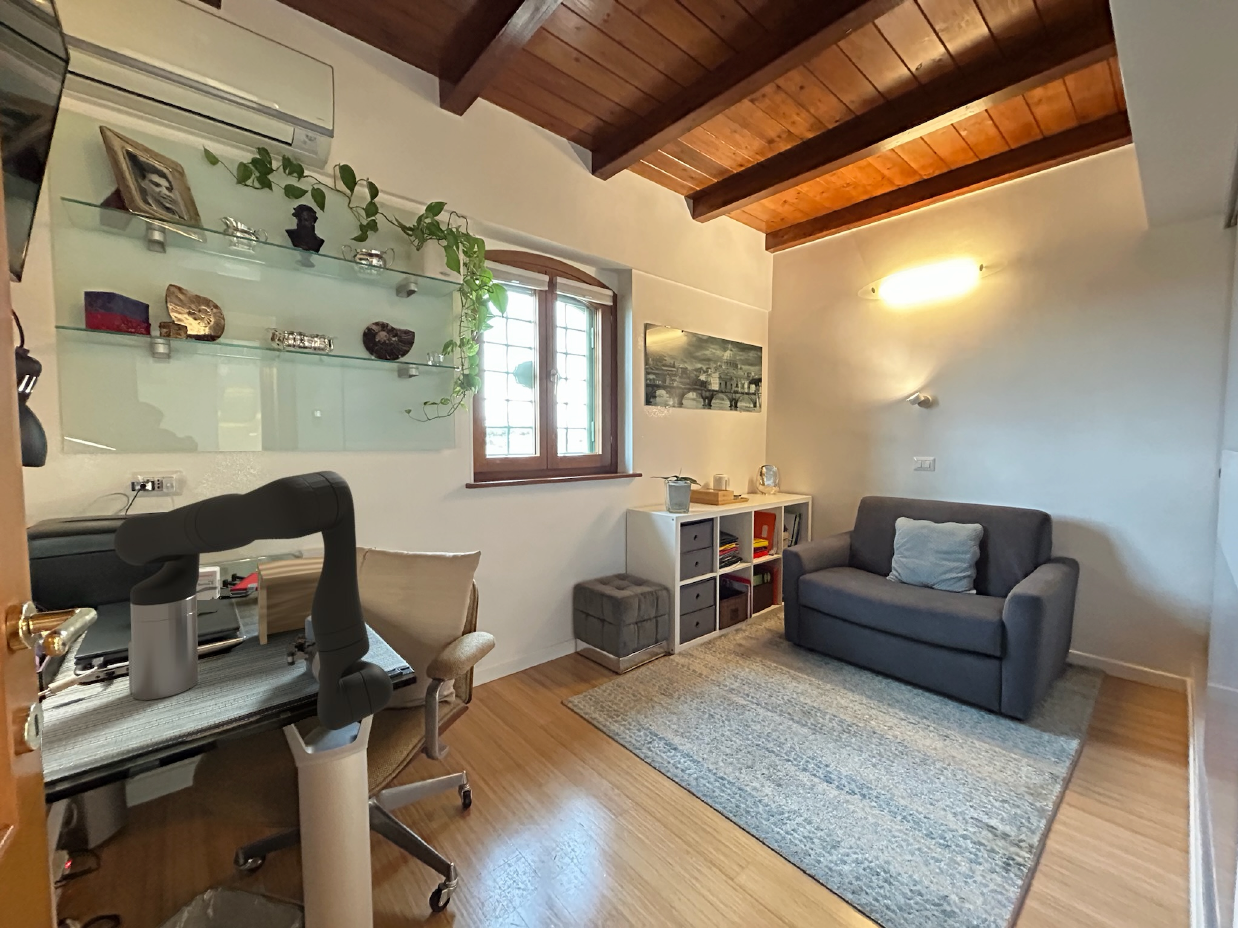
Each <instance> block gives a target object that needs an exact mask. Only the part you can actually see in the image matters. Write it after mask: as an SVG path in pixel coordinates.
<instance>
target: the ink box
mask: <svg viewBox="0 0 1238 928" xmlns="http://www.w3.org/2000/svg"><path fill="white" fill-rule="evenodd" d="M220 569H221V567H220V566H205V567H203V566H202V567H199V579H198V583H197V593H196V594H197V600H210V599H217V598H218V597H219V596H220V593H221V579H220V578H221V574H220V572H221V570H220Z"/></svg>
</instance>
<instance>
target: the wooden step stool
mask: <svg viewBox="0 0 1238 928" xmlns="http://www.w3.org/2000/svg"><path fill="white" fill-rule="evenodd" d="M323 561H324V555H315V556H309V557H308V556H306V557H298V558H288V559H281V560H280V559H279V560H271V561H270V560H269V561H261V562H260V561H259V562H257V563H256V564H257V565H256V569H257V572H256V573H257V582H258V590H257V635H258V640H259V642H260V643H259V644H260V645H264V644H265V645H266V644H268V636H267V635H271V634H276V633H282V632H288V631H293V630H298V629H303V628H304V629H305V619H306V618H307V617H308V616H310V615H311V609H312V603H313V599H314V595H315V592H316V588H317V585H318V582H319V578H320V575H321V571H322V567H323Z"/></svg>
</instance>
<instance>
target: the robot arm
mask: <svg viewBox="0 0 1238 928" xmlns="http://www.w3.org/2000/svg"><path fill="white" fill-rule="evenodd" d="M355 515H356V514H355V504H354V498H353V494H352V489H351V488H350V486H349V483H348V482H347V480H346V479H345V478H344V477H343V476H342V475H341V474H340V473H338V472H336V471H332V470H321V471H314V472H309V473H302V474H297V475H292V476H291V475H290V476H285V477H284V476H283V477H281V478H278V479H275V480H272V481H270V482H268V483H266V484H264V485H262V486H259V487H258V488H255V489H253V490H250V491H248V492H246V493H238V492H237V493H226V494H221V495H217V496H213V497H208V498H205V499H202V500H199V501H196V502H192V503H189V504H186V505H184V506H181V507H178V508H175V509H172V510H169V511H165V512H155V513H146V514H145V513H144V514H137V515H133V516H131V517H129V518H126V519H125V520H124V521H122V522H121V524H120V525H119V526H118V527H117V529H116V531H115V534H114V538H113V546H114V550H115V551H116V554H117V555H118V557H119V558H120V559H121V560H123V561H124V562H126V563H127V564H129V565H132V566H150V565H156V564H163V563H164V566H163V567H162V568H161V569H160V570H159V571H157V572H156V573H154V574H153V575H152V576H150V577H147V578H146V579H145V580H142V581H140V582H139V583H137V584H135V585H133V587H132V588H131V590H130V593H129V594H130V596H129V597H130V600H129V601H130V627H131V628H130V633H131V634H130V635H131V640H130V641H128V644H127V645H128V680H129V681H128V687H129V688H128V692H129V693H130V694H132V697H133V699H135V700H140V701H146V700H147V701H148V700H149V701H150V700H156V699H163V698H167V697H168V698H169V697H171V696H175V695H178V694H180V693H183V692H186V691H188V690H190V689H192V688H193V687H195V686H196V685H197V684H198V682H199V667H198V666H199V665H198V664H199V654H198V648H199V647H198V644H199V643H198V642H199V641H198V614H197V594H196V593H197V583H198V579H199V568H200V560H201V559H200V558H201V555H202V554H210V553H220V552H225V551H231V550H236V549H239V548H243V547H245V546H248V545H251V544H252V543H254V542H255V541H260V540H291V539H293V540H294V539H300V538H301V539H302V538H304V537H307V536H311V535H314V534H317V533H321V536H322V540H323V541H322V542H323V550H324V551H323V552H324V553H323V556H324V561H323V567H322V571H321V575H320V578H319V582H318V585H317V588H316V592H315V595H314V599H313V603H312V609H311V622H312V628H313V632H314V637H315V639H312V638H311V639H308V640H305V636H304V635H305V634H303V633H300V634H298V636H296V637H295V642H293V641H290V642H287V643H286V661H287V662H286V663H287V666H294V665H295V664H296V662H298V661H299V660H303V661H305V662H306V661H308V662H309V664H310V667H311V669H312V672H313V675H314V676H313V677H314V678H315V679H316V681H317V682H318V684H319V686H318V691H317V706H316V709H317V710H316V711H317V713H316V714H317V717H318V719H319V722H320V723H321V725H322V726H323V727H324V728H326V729H327V730H329V731H339V730H342V729H343V728H347V727H348V726H350V725H352V724H355V723H358V722H359V721H361V720H364V719H366V718H368V717H370V716H372V715H374V714H378V712H381V711H382V710H384V709H386V707H387V706H388V705H390V702H391V700H392V698H393V695H394V694H393V693H394V686H393V682H392V679H391V677H390V675H389V674H388V673H387V671H386V670H385V669H384V668H383V667H382V666H380V665H378V664H376V663H374V662H370V661H368V660H364V659H363V658H364V657H365V656H366V655H367V654H368V652H369V650H370V646H371V645H370V640H369V639H370V638H369V634H368V631H367V626H366V621H365V617H364V612H363V608H362V603H361V598H360V591H359V589H360V588H359V582H358V581H359V580H358V562H357V561H358V560H357V537H356V536H357V535H356V516H355ZM189 688H190V689H189Z"/></svg>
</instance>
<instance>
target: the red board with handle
mask: <svg viewBox="0 0 1238 928" xmlns="http://www.w3.org/2000/svg"><path fill="white" fill-rule="evenodd" d="M230 576H231V577H230V578H231V581H229V578H225V579H223V580H222V582H221V584H222V587H227V588H229V587H231V588H230V589H229V591H230V590H231V594H232V596H231V597H240V596H241V597H242V596H243V597H244V596H249V595H250V594H251V593H252V592H256V591H258V582H257V572H251V573H250V574H249V575H247V576H241V575H238V574H237V573H232V574H231V575H230ZM237 580H240V581H239V582H236V581H237ZM222 587H221V588H222Z"/></svg>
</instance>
